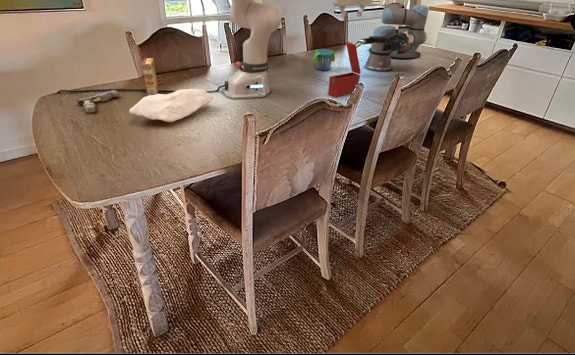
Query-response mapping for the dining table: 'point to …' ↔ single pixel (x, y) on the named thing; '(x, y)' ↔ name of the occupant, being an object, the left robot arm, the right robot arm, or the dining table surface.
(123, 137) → the dining table surface
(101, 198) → the dining table surface
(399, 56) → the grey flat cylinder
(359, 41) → the lid
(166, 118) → the crumpled cloth
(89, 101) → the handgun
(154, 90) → the candy box
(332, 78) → the chest
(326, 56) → the snack cup
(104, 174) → the dining table surface
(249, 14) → the left robot arm
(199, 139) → the dining table surface
